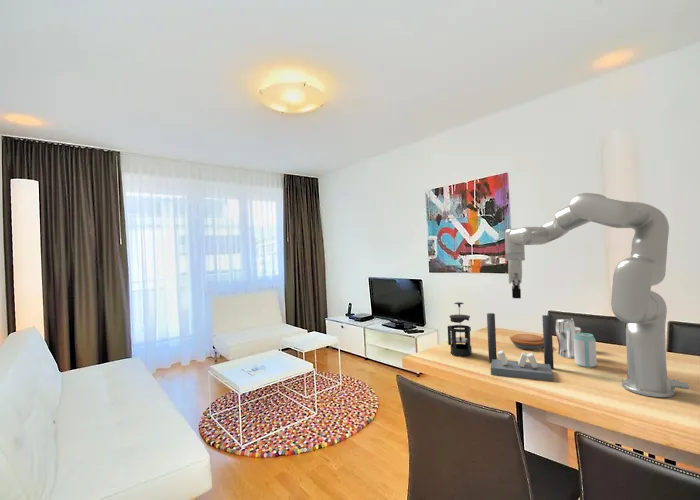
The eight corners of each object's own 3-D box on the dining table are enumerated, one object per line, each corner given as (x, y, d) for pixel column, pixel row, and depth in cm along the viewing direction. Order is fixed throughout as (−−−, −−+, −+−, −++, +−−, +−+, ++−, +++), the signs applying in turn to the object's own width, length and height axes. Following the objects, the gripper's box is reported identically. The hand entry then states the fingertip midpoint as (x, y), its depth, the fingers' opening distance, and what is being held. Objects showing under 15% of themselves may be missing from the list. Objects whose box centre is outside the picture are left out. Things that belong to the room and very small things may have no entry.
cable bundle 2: (553, 367, 132) (550, 315, 132) (554, 369, 129) (551, 316, 130) (544, 366, 133) (542, 315, 134) (545, 368, 131) (542, 316, 131)
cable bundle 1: (497, 361, 141) (494, 313, 141) (496, 364, 138) (494, 314, 138) (489, 361, 142) (487, 313, 142) (488, 363, 139) (486, 314, 140)
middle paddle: (523, 364, 129) (527, 353, 128) (523, 367, 125) (527, 356, 125) (518, 362, 130) (522, 351, 129) (518, 365, 126) (522, 354, 126)
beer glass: (579, 358, 141) (577, 322, 141) (560, 358, 142) (559, 322, 143) (571, 353, 148) (570, 318, 148) (554, 353, 149) (552, 318, 149)
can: (573, 361, 138) (572, 331, 138) (594, 363, 135) (593, 332, 135) (576, 367, 132) (574, 335, 132) (598, 369, 128) (597, 337, 129)
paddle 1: (507, 361, 131) (502, 350, 132) (507, 364, 128) (502, 352, 128) (502, 362, 132) (498, 351, 133) (502, 365, 128) (497, 354, 129)
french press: (478, 354, 152) (475, 302, 152) (464, 358, 147) (462, 305, 147) (456, 348, 162) (454, 300, 162) (443, 352, 156) (440, 302, 157)
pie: (507, 348, 159) (506, 338, 159) (513, 341, 172) (512, 331, 172) (545, 353, 150) (544, 341, 150) (548, 344, 163) (548, 334, 163)
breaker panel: (550, 370, 128) (549, 364, 128) (553, 381, 118) (552, 374, 118) (492, 365, 137) (492, 359, 137) (490, 374, 127) (490, 367, 127)
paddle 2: (537, 363, 127) (532, 352, 128) (537, 367, 123) (532, 355, 124) (532, 365, 128) (527, 353, 128) (532, 368, 124) (527, 356, 125)
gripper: (505, 256, 157) (507, 294, 157) (505, 258, 142) (506, 299, 142) (524, 256, 154) (525, 294, 154) (525, 257, 139) (527, 299, 139)
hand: (516, 296), depth 148 cm, fingers open, 9 cm apart
